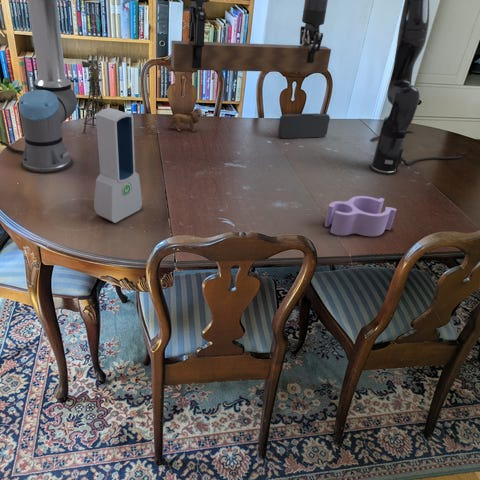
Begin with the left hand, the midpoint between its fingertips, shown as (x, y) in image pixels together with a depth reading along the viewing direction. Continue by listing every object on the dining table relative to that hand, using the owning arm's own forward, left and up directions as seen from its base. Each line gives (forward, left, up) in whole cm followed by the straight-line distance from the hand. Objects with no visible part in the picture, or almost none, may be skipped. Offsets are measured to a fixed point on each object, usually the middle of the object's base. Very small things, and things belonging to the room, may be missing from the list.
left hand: (194, 65), depth 154 cm
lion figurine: (-9, +32, -34) cm, 47 cm away
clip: (+58, -32, -34) cm, 75 cm away
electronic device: (-12, -43, -34) cm, 57 cm away
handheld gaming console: (+41, +42, -34) cm, 67 cm away
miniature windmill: (-42, +17, -34) cm, 57 cm away
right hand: (+37, +16, +3) cm, 40 cm away
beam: (+18, +8, -1) cm, 20 cm away
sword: (+83, +59, -34) cm, 107 cm away
